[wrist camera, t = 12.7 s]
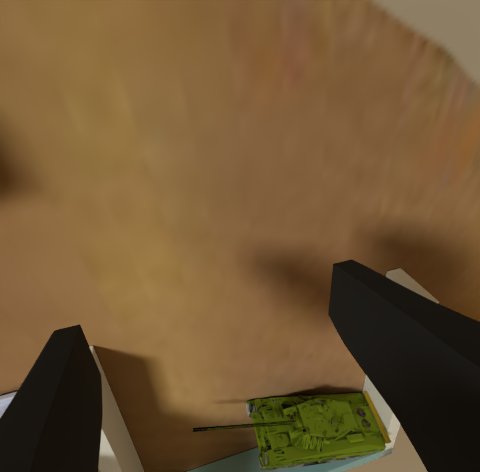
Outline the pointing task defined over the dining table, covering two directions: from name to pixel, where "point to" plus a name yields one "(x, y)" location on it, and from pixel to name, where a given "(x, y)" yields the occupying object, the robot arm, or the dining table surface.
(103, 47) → the dining table surface
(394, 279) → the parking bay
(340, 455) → the toy tank
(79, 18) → the dining table surface
